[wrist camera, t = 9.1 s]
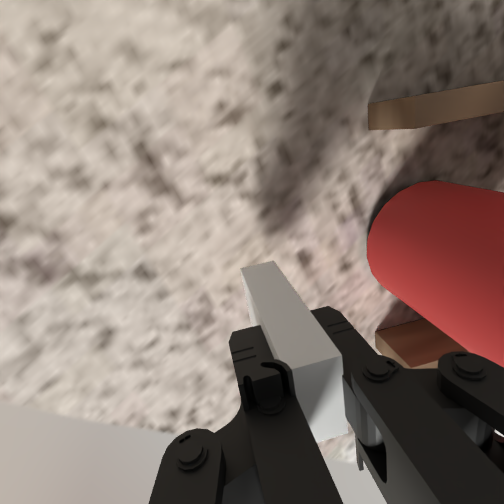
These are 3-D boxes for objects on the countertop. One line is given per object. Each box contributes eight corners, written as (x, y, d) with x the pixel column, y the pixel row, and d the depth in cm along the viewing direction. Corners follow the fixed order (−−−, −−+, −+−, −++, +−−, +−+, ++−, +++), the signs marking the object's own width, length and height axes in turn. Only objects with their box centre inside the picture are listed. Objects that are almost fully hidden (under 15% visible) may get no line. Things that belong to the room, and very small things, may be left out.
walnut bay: (367, 103, 16) (415, 95, 13) (557, 70, 17) (643, 55, 14) (375, 347, 21) (410, 385, 18) (521, 306, 22) (578, 335, 19)
